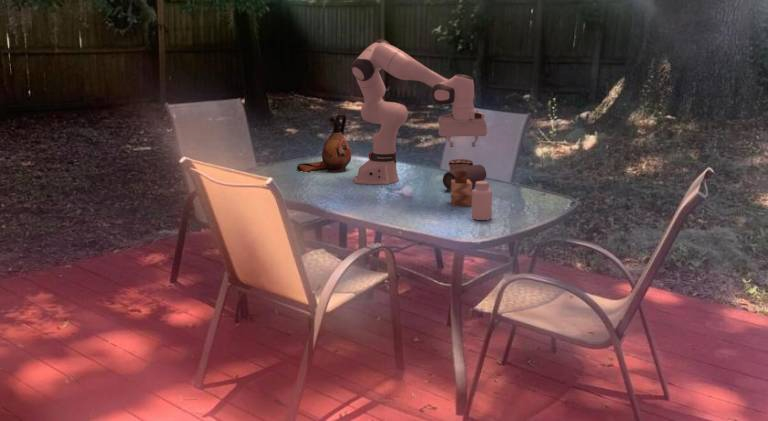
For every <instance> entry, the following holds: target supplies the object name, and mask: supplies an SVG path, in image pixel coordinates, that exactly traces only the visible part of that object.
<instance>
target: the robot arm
mask: <svg viewBox="0 0 768 421" xmlns="http://www.w3.org/2000/svg"><path fill="white" fill-rule="evenodd" d="M350 69H351V73H352V75H353V76H354V77H355V79H356V82H357V84H358V86H359V89H360V91H361V94H362V95H363V100H364V103H363V104H362V106H361V109H360V116H361V117H362V119H363V121H366V122H368V123H371V124H378V125H380V130H379V131H378V132H376V133H375V134H374V135H373V137H372V151H369V152H368V153H367V155H368V160H367V161H366V162H365V163H363V164H362V165H361V166H360V167H359V168H358V172H357V175H356V176H354V177H353V182H354V184H363V185H388V184H392V183H396V182H399V180H400V178H399V176H398V170H397V163H398V162H397V160H398V159H397V156H398V155H397V152H396V145H397V144H396V143H397V142H396V141H397V135H398V132H399V129H400V128H401V127H402V125H404V124H405V123H406V121H407V120H408V116H409V115H408V114H409V113H408V109H407V107H406V106H405V105H404V104H402V103H397V102H394V101H385V100H384V98H383V97H384V96H385V94H386V91H387V90H386V86H385V83H384V81H383V78H382V76H381V74H380V71H381V70H383V71H385V72H386V73H387V74H390V75H391V76H392V77H394V78H397V79H400V80H402V81H418V82H421V83H423V84H426V85H427V86H429V87H430V88H431V90H430V98H431V100H432V102H433V103H434V104H435V105H438V106H446V105H452V114H451V113H450V114H449V113H448V114H445V113H443V114H441V115H439V116H438V118H437V123H438V126H439V127H438V135H439V136H440V137H446V139H447V141H448V144H449V145H448V147H449V148H453V147H454V142H452V141H451V139H452V138H451V137H474V140H473V141H472V142H471V148H472V147H476V144H477V141H478V140H479V137H486V136H487V134H488V127H487V121H486V120H485V113H483V111H480V110H476V109H475V106H474V98H475V82H474V79H473V78H472V76H470V75H467V74H462V73H461V74H460V73H457V74H455V75H454V76H453V77H451V78H447V77H445V76H443V75H441V74H440V73H438V72H436V71H434V70H432V69H431V68H428V66H425V65H423V64H422V62H419V61H418V60H416V59H414V58H413V57H412V56H411V55H409V54H407V53H406V52H405V51H403V50H401V49H399V48H398V47H396V46H394V45H391V43H389V41H387V40H385V39H383V38H381V39H377V40H375V41H373V42H372V44H370V45H369V46H367V47H366V48H365V49H364V50H363V51H362V52H361V54H359V56H358V57H356V59H354V60H353V62H352V64H351V66H350Z"/></svg>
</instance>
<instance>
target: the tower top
mask: <svg viewBox="0 0 768 421" xmlns="http://www.w3.org/2000/svg"><path fill="white" fill-rule="evenodd" d="M472 191H473V187H472V183H471V181H470V180H467V183H456V182H455V180H451V190H450V193H451V192H452V194H453V196H457V195H472Z"/></svg>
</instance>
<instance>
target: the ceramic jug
mask: <svg viewBox="0 0 768 421" xmlns="http://www.w3.org/2000/svg"><path fill="white" fill-rule="evenodd" d="M340 119H342V120H340ZM346 122H347V116H346V114H344V113H338V114H336V116H335V117H329V118H328V119H327V121H326V123H327V125H329V126H331V127H333V131H332V132H331V134H330V135H329V137H328V138H327V140H326V141H325V142H324V145H323V148H322V152H321V159H322V160H321V161H323V162H324V164H325V166H326V167H327V168H328V169H327V172H333V173H334V172H335V173H340V172H344V171H345V170H346V167H348V165H349V164H350V162H351V159H352V150H351V147H350V145H349V143H348V141H347V139H346V138H345V136H344V131H345V127H346Z"/></svg>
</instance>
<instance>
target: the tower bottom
mask: <svg viewBox="0 0 768 421" xmlns="http://www.w3.org/2000/svg"><path fill="white" fill-rule="evenodd" d="M450 193H451V195H450V197H451V198H450V202H451V205H452V207H453V206H458V207H472V195H457V196H453V194H452V192H451V191H450Z"/></svg>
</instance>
